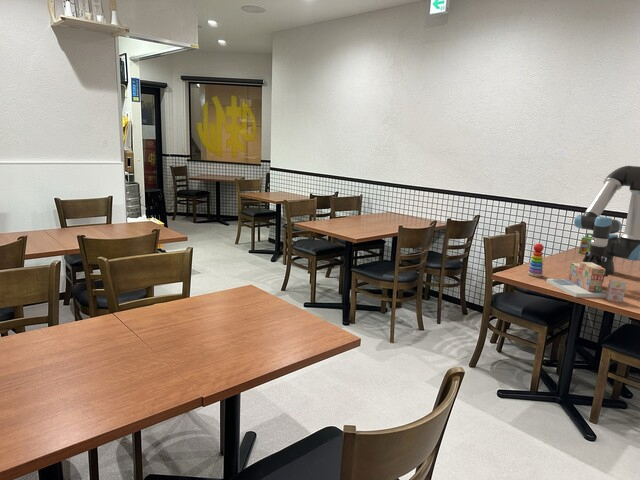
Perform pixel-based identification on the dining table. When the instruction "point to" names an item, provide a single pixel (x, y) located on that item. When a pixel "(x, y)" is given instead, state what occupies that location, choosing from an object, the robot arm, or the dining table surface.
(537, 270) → the stacking toy
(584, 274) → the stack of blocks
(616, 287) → the white red printed box
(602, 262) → the robot arm
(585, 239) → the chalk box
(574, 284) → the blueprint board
